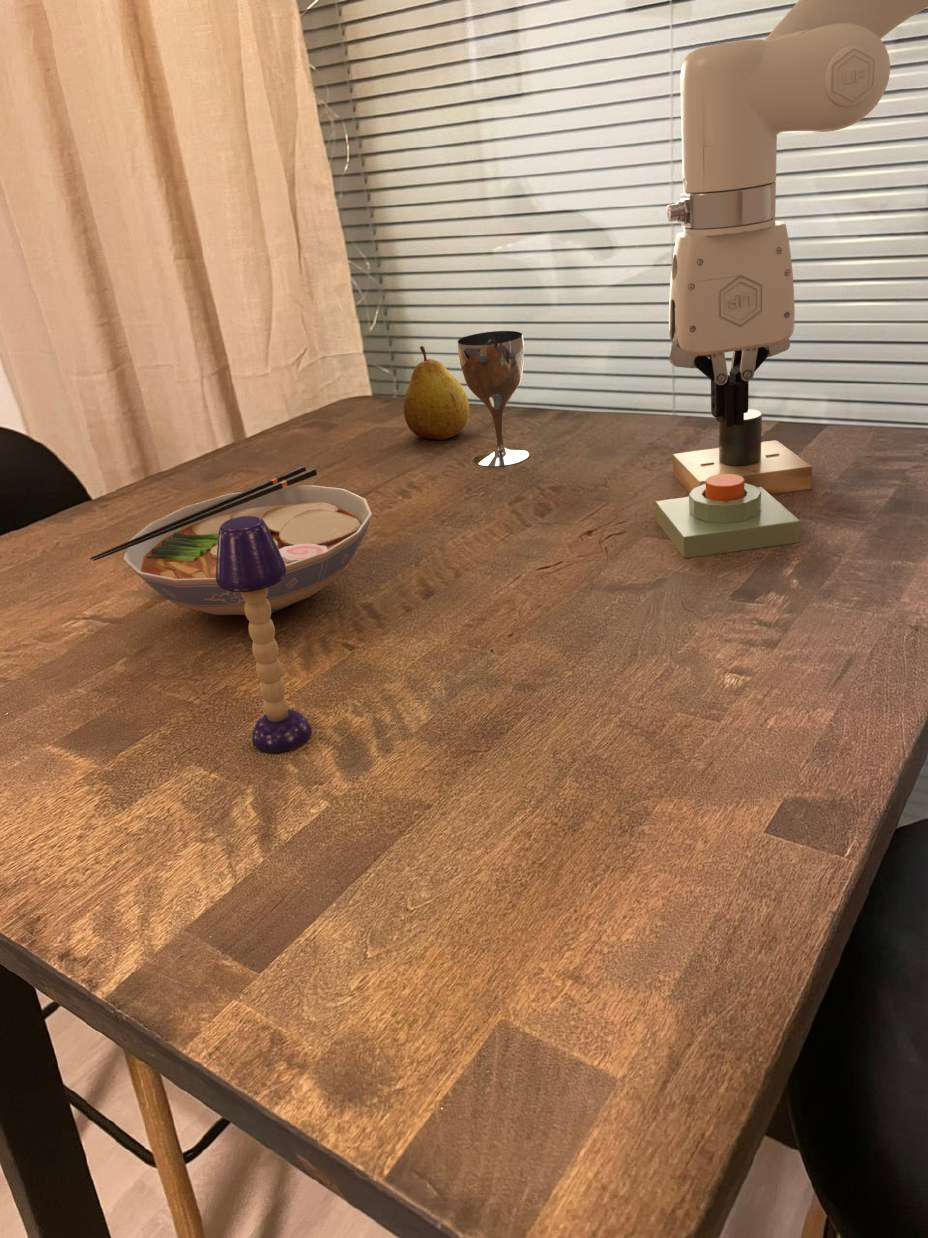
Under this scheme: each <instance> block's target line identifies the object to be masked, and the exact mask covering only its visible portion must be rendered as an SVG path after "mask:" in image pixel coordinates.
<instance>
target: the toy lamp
mask: <svg viewBox="0 0 928 1238" xmlns="http://www.w3.org/2000/svg"><path fill="white" fill-rule="evenodd" d="M285 575H286V566H285V563H284V561H283V559H282V556H281V554H280V552H279V550H278V548H277V545H276V543H275V541H274V539H273V537H272V535H271V533H270V531H269V529H268V527H267V525H266V523H265V522H264V520H263V519H261V518H259V517H256V516H242V517H237V518H233V519H230V520H227V521H226V522H224V523H223V524H222V525H221V526H220V529H219V535H218V547H217V562H216V581H217V584H218V586H219V587H221V588H222V589H224V590H227V591H231V592H241V595H242V597H243V599H244V600H245V601H246V602H245V607H244V610H245V615H244V616H245V617H246V619H247V621H249V623H248V628H247V629H248V635H249V637H250V639H251V640H252V641H253V642H252V645H251V651H252V655H253V657H254V660H255V661H256V664H255V673H256V675H257V677H258V679H259V680H260V682H259V692H260V695H261V697H262V699H263V703H262V706H263V707H262V708H263V712H264V714H263V715H262V716H261V717H260V718H259V719H258V720H257V722H256V723H255V725H254V727H253V731H252V744H253V746H254V747H255V748H256V749H257V750H259V751H262V752H265V753H274V754H275V753H285V752H288V751H292V750H295V749H296V748H298V747H300V746H302V745H303V744H305V743H306V742H307V741H308V740H309V738H310V736H311V734H312V728H311V725H310V722H309V721H308V720H307V718H306V717H305V715H303V714H302V713H301V712H299V711H297V710H294V709H291V708H289V703H288V700H287V698H286V696H285V694H286V684H285V682H284V680H283V678H282V675H283V666H282V662H281V661H280V659H279V645H278V642H277V640H276V639H275V635H276V629H275V625H274V621H273V620H272V619H271V617H272V613H271V606H270V603H269V601H268V600H267V599H266V597H267V593H268V590H267V588H268V587H271V586H273V585H275V584H277V583H278V582H280V581H281V580H282V579H283V578H284V577H285Z"/></svg>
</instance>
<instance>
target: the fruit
mask: <svg viewBox="0 0 928 1238" xmlns="http://www.w3.org/2000/svg"><path fill="white" fill-rule="evenodd" d="M419 349H420V352H421V353H422V356H423V361H421V362H419V363H418V364H417V365H416V366H415V367H414V369H413V370H412V374H411V376H410V380H409V383H408V386H407V389H406V392H405V395H404V399H403V414H404V416H403V417H404V419H405V420H404V421H405V422H406V424H407V427H408V428H409V430H410V431H411V432H412V434H414V435H416V437H418V438H419V439H425V440H438V441H445V440H447V439H450V438H453V437H455V436H457V435H459V434H460V433H461V432H462V431H463V429H464V428H465V427H466V425H467V423H468V421H469V418H470V402H469V398H468V396H467V393H466V391H465V389H464V387H463V385H462V384H461V382H460V381H459V380H458V379H457V378H456V377H455V376H454V374H452V373H451V372H450V371H449V370H448V369H447V368H446V367H445V366H444V365H443V363H441V362H440V361H438V360H436V359H431V358H428V357H427V354H426V349H425V347H424V346H423V345H421V346H420V347H419ZM427 358H428V359H427Z"/></svg>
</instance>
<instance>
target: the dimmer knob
mask: <svg viewBox="0 0 928 1238" xmlns="http://www.w3.org/2000/svg"><path fill="white" fill-rule="evenodd" d="M762 432H763V412H762V411H760V410H758V409H752V408H748V412H747V413H744V424H743V425H740V426H737V425H735V424H734V425H732V427H725V426H723V425H722V424H721V423H720V422H718V448H719V461H720V462H721V463H723V464H727V465H733V466H743V465H750V464H754V463H757V462H758V461H760V459H761V442H762V435H763V434H762Z"/></svg>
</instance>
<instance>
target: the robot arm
mask: <svg viewBox="0 0 928 1238" xmlns="http://www.w3.org/2000/svg"><path fill="white" fill-rule="evenodd" d="M927 8H928V0H798V1H797V2H796V3H795V4H794V5H793V7H791V9H790V10H789V11H788V12H787V14H786V15H785V16H784V17H783V18H782V19H781V20H780V22H779V23H778V24H777V25H776V26H775V27H774V28H773V29H772V31H771V32H770V33H769V34H768V35H767V36H766V38H765V39H763V38H762V39H760V38H759V39H758V38H757V39H756V38H752V39H742V40H737V41H729V42H722V43H717V44H712V45H706V46H702V47H699V48H697V49H694V50H692V51H690V52H689V53H688V54H687V55H686V56H685V58H684V60H683V62H682V65H681V68H680V121H681V125H680V126H681V157H682V158H681V163H682V166H681V167H682V168H681V169H682V192H683V193H680V198H679V201H676V202H675V203H673V204H667V206H666V218H667V221H668V222H669V223H671V222H676V223H680V224H681V227H682V228H683V232H678V233H677V234H676V236H675V243H674V248H673V256H672V257H673V258H672V264H671V265H672V266H671V273H670V283H669V284H670V286H669V300H668V302H669V303H668V330H669V331H668V332H669V336H670V337H669V339H670V341H671V348H670V353H669V357H668V360H669V362H670V363H671V364H672V365H673V366H674V367H677V368H684V369H697V370H699V371H700V372H701V373H702V374H703V375H704V376H706V377H707V378H708V379H709V380H710V411H711V415H712V416H713V417H714V418H715V420H716V421H717V422H718V423H719V422H720V423H721V424H722V425H723V426H725V427H732V425H734V424H735V425H737V426H740V425H743V424H744V413H747V412H748V409H749V384H750V383H749V382H750V381H751V380H752V379H754V376H755V372H756V371H757V370H758V369H759V368H760V366H761V365H762V364H763V363H764V362H765V360H767V358H770V357H773V356H776V355H778V354H781V353H783V352H786V351H788V350H789V349H790V347H791V341H790V338H791V337H792V335H793V333H794V330H795V318H796V317H795V315H796V311H795V287H794V273H793V272H794V271H793V264H792V254H791V247H790V245H791V244H790V239H789V234H788V229H787V224H786V221H780V220H776V197H777V196H776V195H777V182H776V181H777V152H778V151H777V149H778V147H777V145H778V144H777V143H778V142H777V140H778V135H779V134H780V133H782V134H786V133H787V134H789V133H790V134H791V133H829V132H830V133H831V132H836V131H839V130H843V129H846V128H848V127H850V126H853V125H855V124H857V123H858V122H860V121H861V120H862V119H864V118H865V117H866V116H867V115H869V114H870V113H871V112H872V111H873V110H874V108H876V106H877V105H878V104H879V102H880V101H881V99H882V98H883V96H884V94H885V91H886V89H887V87H888V84H889V81H890V80H889V79H890V76H891V62H890V55H889V52H888V49H887V47H886V46H885V43H884V42H883V40H882V38H884V37H885V36H886V35H887V34H889V33H890V32H892V31H893V30H895V29H896V28H897V27H899V26H900V25H901V24H902V23H904V22H905V21H907V20H908V19H910V18H911V17H914V16H915V15H917V14H918V13H920V12H922V11H924V10H926V9H927ZM731 352H732V358H731V365H730V370H729V374H728V368H727V361H726V355H725V353H731Z"/></svg>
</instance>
